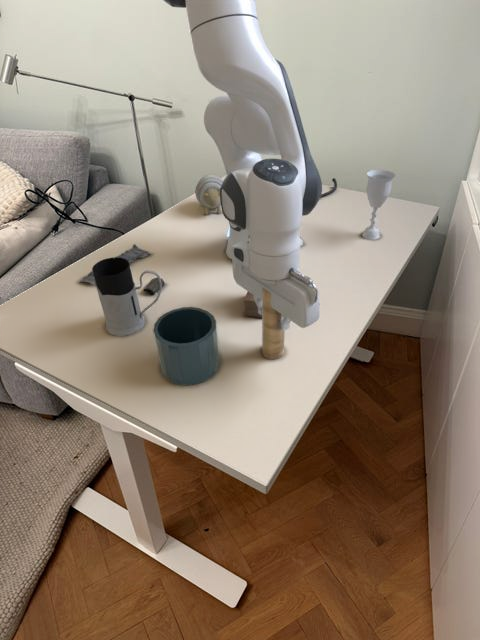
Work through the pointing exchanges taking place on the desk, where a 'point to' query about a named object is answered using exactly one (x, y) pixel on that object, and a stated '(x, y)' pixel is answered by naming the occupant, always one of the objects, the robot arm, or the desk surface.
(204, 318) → the crock
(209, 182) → the toy sheep
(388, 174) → the chalice
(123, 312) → the glass holder
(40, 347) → the desk surface
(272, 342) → the rolling pin
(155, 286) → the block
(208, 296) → the desk surface
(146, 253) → the grey fabric pouch
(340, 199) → the desk surface
